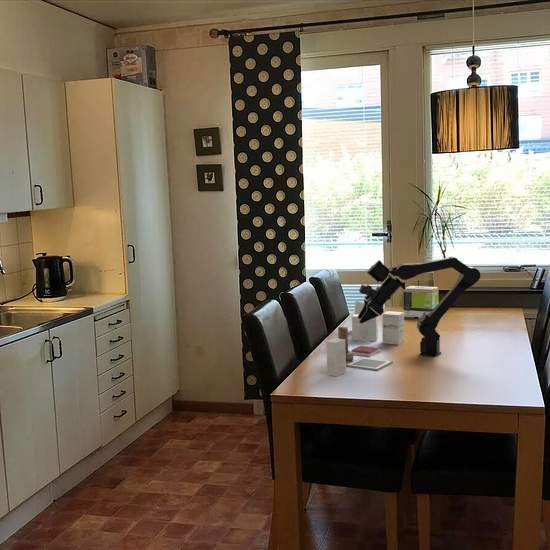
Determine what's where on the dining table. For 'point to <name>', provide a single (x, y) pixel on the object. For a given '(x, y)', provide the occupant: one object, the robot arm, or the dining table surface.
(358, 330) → the skincare box
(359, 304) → the smart speaker
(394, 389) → the dining table surface
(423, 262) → the robot arm
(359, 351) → the ink pad
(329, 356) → the skincare box
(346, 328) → the walnut stamp
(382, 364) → the marked board
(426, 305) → the tea box
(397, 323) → the supplement box
